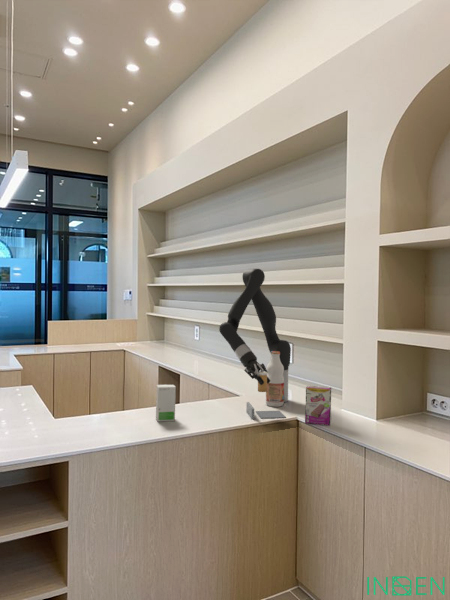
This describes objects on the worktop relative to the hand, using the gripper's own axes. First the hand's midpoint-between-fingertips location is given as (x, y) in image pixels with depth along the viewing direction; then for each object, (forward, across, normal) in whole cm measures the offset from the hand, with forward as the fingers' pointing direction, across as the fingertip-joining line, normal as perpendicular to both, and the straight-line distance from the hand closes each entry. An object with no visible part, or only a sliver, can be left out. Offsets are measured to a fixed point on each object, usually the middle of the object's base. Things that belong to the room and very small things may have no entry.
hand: (265, 383), depth 212 cm
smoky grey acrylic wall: (+7, -5, +15) cm, 17 cm away
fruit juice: (+5, +21, +18) cm, 28 cm away
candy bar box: (+29, +6, -6) cm, 30 cm away
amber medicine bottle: (+2, 0, +4) cm, 5 cm away
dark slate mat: (+12, +3, +11) cm, 16 cm away
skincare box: (-11, -36, +32) cm, 50 cm away
